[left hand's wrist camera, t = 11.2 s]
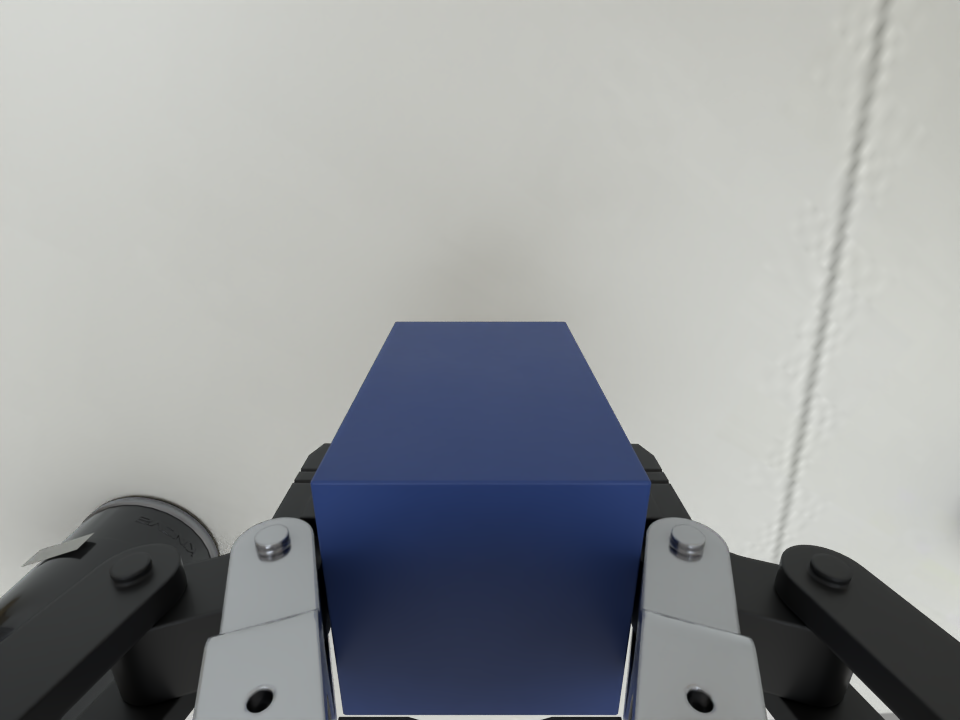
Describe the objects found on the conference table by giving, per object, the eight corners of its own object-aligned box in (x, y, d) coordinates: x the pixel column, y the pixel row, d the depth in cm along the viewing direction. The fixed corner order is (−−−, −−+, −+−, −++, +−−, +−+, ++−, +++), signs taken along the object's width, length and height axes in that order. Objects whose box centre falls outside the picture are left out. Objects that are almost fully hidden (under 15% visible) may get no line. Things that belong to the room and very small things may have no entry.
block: (565, 321, 14) (652, 482, 7) (556, 467, 16) (618, 716, 9) (395, 321, 14) (308, 482, 7) (404, 467, 16) (342, 715, 9)
